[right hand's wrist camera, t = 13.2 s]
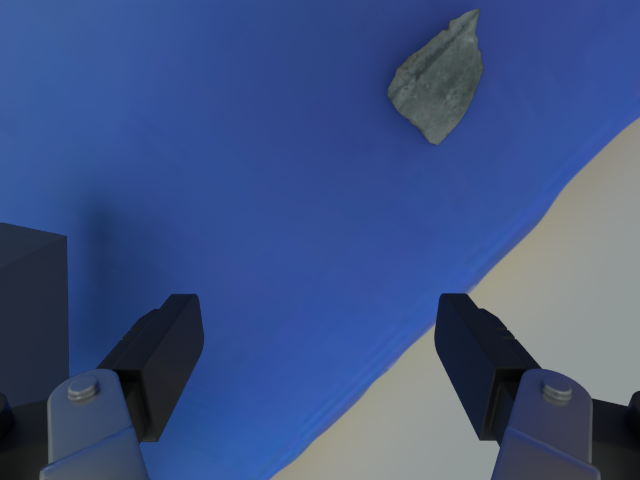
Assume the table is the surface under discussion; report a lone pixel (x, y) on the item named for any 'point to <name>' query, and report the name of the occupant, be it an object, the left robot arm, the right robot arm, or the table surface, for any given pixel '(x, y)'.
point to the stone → (440, 79)
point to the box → (32, 313)
